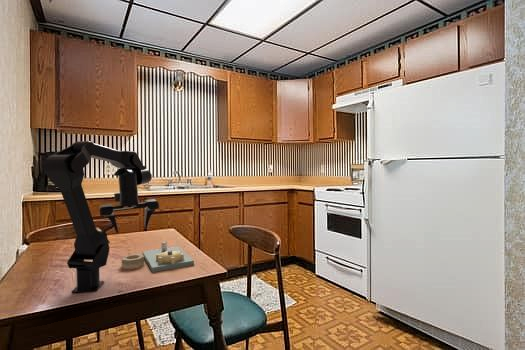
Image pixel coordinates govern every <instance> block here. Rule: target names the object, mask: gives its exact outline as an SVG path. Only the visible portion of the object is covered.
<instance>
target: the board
mask: <svg viewBox="0 0 525 350" xmlns="http://www.w3.org/2000/svg"><path fill="white" fill-rule="evenodd" d="M142 254H143V256H144V261H145V262H146V264H147V266H148V267H149V269H150V271H151V273H156V272H161V271H162V272H163V271H168V270H172V269H178V268H183V267H189V266H194V265H195V260H194V259H193V258H192V257H190V256H189V255H188V254H187V253H186V252H185V251H184V250H183V249H182V248H181V247H180V246H172V247H167V251H165V252H163V253H162V252H161V248H159V249H150V250H144V251H143V250H142Z"/></svg>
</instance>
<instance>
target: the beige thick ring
mask: <svg viewBox="0 0 525 350" xmlns="http://www.w3.org/2000/svg"><path fill="white" fill-rule="evenodd" d="M144 266H145V259H144V256H143V253H142V254H141V253H133V254H127V255H124V256H122V257H121V269H126V270H132V269H133V270H134V269H138V268H141V267H144Z"/></svg>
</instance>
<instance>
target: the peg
mask: <svg viewBox="0 0 525 350" xmlns="http://www.w3.org/2000/svg"><path fill="white" fill-rule="evenodd" d="M160 247H161V248H160V249H161V252H162V253H163V252H165V251H167V248H168V242H167V241H162V242H161V246H160Z"/></svg>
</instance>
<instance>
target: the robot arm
mask: <svg viewBox="0 0 525 350" xmlns="http://www.w3.org/2000/svg"><path fill="white" fill-rule="evenodd" d="M91 159H95V160H100V161H102V162H103V161H104V162H108V163H110V164H111V166H113V167H115V168H117V170H116V171H115V172H114V173H113V176H115V177H116V176H117V177H118V185H119V192H115V193H114V194H113V195H114V203H119V205H113V204H112V203H107V204H101V205H99V215H100V217H104V219H108V220H109V221H110V222H111V225H112V226H113V228H114V231H115V232H116V234H119V228H118V224H117V221H116V215H115V212H120V211H129V210H136V209H144V229H145V230H147V228H148V224H149V222H150V219H151V217H152V214H153V213H154V212H156V210H159V209H160V204H159V203H160V202H159V201H158V200H156V199H155V198H153V199H146V200H144V202H139V193H138V192H139V191H138V186H140V185H145V184H148V183H150V182H151V181H152V179H153V178H152V177H153V175H152V173H151V171H150V170H149V169H148V168H147V165H144V164H143V162H142V161H141V159H140V156H139V155H138V153H137V152H136V151H135V150H134V151H133V150H117V149H113V148H111V147H107V146H105V145H104V146H103V145H100V144H97V143H94V142H93V141H90V140H83V141H81V140H80V141H75V142H73V143H71V144H70V145H69V146H68V147H66V148H63V149H62V150H61V149H60V150H59V151H57V152H56V153H54V154H51V155H49V156H48V157H46V159H45V160H44V163H42V168H43V169H42V170H43V171H44V173H45V175H46V176H47V178H48V180H49V182H51V183H52V184H53V185H54V186H55V187H56V188H57V189H58V190H60V193H61V195H62V199H63V202H64V203H65V207H66V209H67V213H68V216H69V218H70V220H71V223H72V226H73V228H74V232H75V234H76V236H75V240H74V242H73V247H74V250H73V253H72V254H70V257H69V258H68V260H67V261H66V264H67V266H68V267H67V268H68V269H75V270H76V271H75V272H76V286H75V287H74V288H73V289H72V291H71V294H77V293H88V292H89V293H90V292H97V291H98V290H99V289H100V288H101V287H102V285H104V284H105V281H104V280H100V279H101V278H100V268H103V267H104V266H106V265H107V262H108V257H109V253H110V243H111V242H110V240H109V239H108V235H107V232H106V231H103V230H101V231H98V230H97V229H96V224H95V220H94V219H93V216H92V213H91V210H90V205H89V203H88V200H87V198H86V194H85V191H84V188H83V185H82V183H83V180H84V177H85V170H84V168H85V167H87V165H88V164H89V163H90V161H91Z"/></svg>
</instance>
